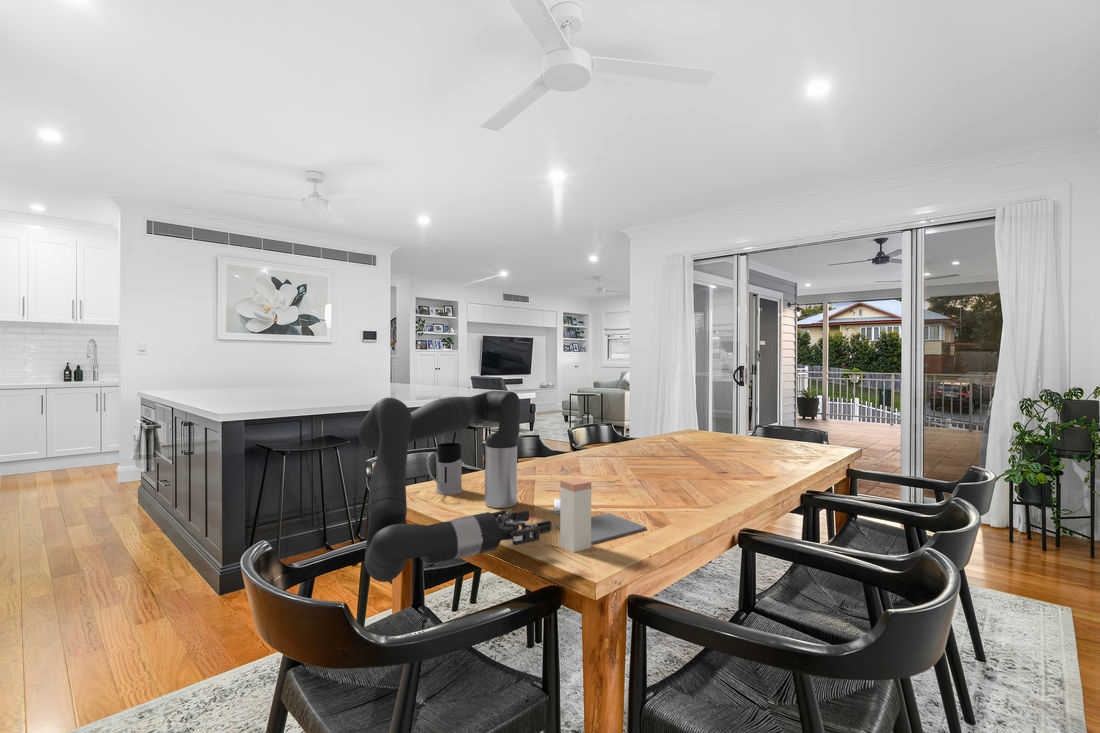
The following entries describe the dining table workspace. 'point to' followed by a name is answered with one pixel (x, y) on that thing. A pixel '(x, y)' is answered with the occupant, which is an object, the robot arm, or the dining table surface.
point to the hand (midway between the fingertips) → (539, 520)
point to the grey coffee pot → (448, 468)
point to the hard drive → (556, 506)
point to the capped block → (575, 514)
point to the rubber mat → (611, 527)
